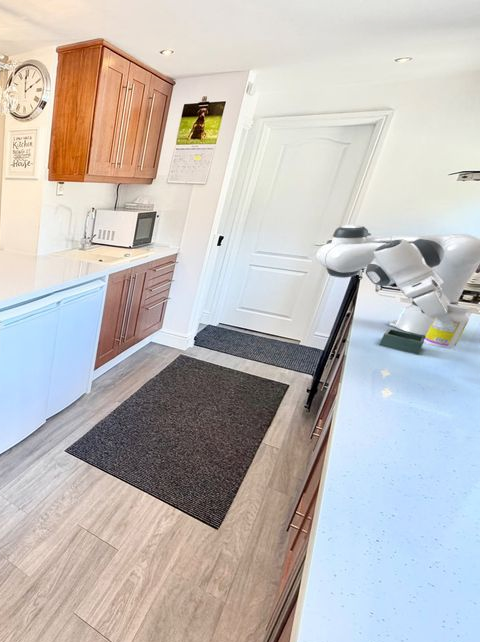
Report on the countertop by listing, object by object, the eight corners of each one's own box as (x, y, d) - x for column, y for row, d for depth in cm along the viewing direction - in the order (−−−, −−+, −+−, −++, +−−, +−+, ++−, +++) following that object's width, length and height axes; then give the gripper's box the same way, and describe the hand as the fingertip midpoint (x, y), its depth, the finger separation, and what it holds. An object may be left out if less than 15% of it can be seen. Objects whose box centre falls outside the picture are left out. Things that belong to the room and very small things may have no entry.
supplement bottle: (439, 341, 129) (458, 303, 124) (460, 350, 122) (482, 310, 118) (416, 340, 129) (435, 302, 124) (436, 348, 123) (457, 308, 118)
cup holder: (383, 339, 155) (388, 328, 153) (420, 347, 148) (426, 336, 146) (379, 345, 149) (384, 333, 147) (417, 354, 142) (423, 342, 140)
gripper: (411, 286, 135) (440, 322, 131) (403, 295, 122) (435, 334, 119) (437, 276, 130) (468, 312, 126) (432, 284, 118) (465, 325, 114)
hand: (452, 323), depth 123 cm, fingers closed on supplement bottle, 6 cm apart
